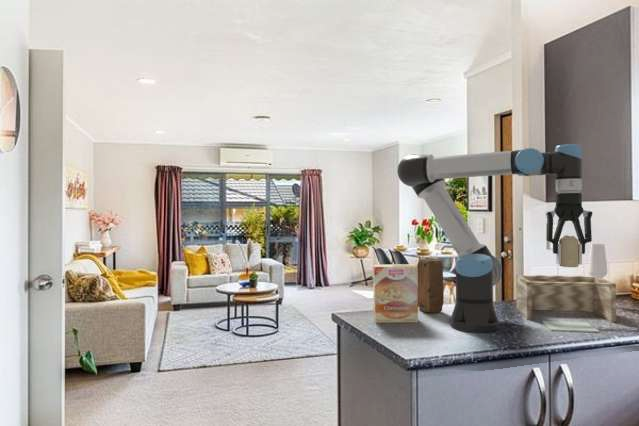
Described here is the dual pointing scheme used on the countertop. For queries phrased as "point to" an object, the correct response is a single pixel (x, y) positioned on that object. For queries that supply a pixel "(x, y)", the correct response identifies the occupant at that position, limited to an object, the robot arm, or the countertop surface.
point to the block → (430, 285)
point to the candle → (569, 251)
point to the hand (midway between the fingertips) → (568, 263)
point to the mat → (569, 326)
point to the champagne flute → (597, 260)
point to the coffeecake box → (395, 293)
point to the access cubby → (565, 294)
